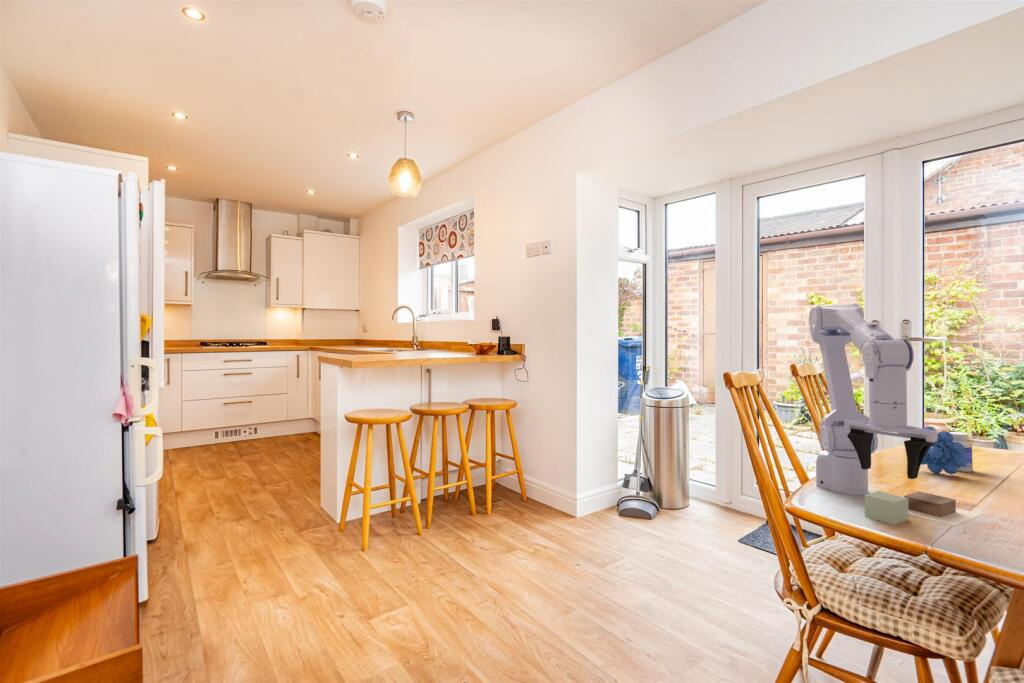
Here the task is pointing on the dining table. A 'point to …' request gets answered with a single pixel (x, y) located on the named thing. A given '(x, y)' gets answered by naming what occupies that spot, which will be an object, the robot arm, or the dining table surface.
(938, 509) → the walnut base block
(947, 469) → the blue flower
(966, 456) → the pill bottle
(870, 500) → the sage block
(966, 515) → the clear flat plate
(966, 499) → the dining table surface
